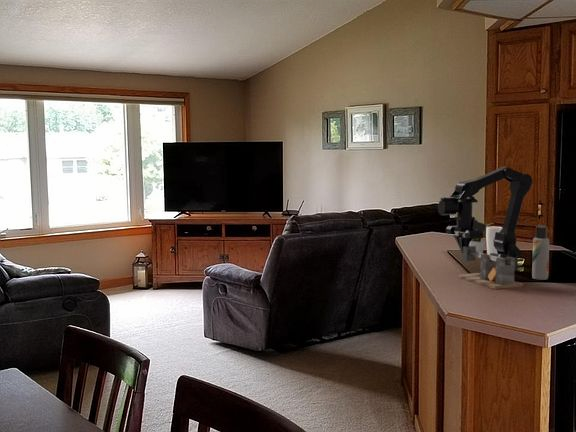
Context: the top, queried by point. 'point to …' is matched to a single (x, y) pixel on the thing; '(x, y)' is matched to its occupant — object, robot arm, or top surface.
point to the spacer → (492, 274)
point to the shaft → (475, 254)
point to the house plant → (478, 242)
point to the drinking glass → (491, 238)
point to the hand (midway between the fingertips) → (463, 253)
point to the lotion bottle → (540, 254)
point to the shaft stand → (502, 273)
